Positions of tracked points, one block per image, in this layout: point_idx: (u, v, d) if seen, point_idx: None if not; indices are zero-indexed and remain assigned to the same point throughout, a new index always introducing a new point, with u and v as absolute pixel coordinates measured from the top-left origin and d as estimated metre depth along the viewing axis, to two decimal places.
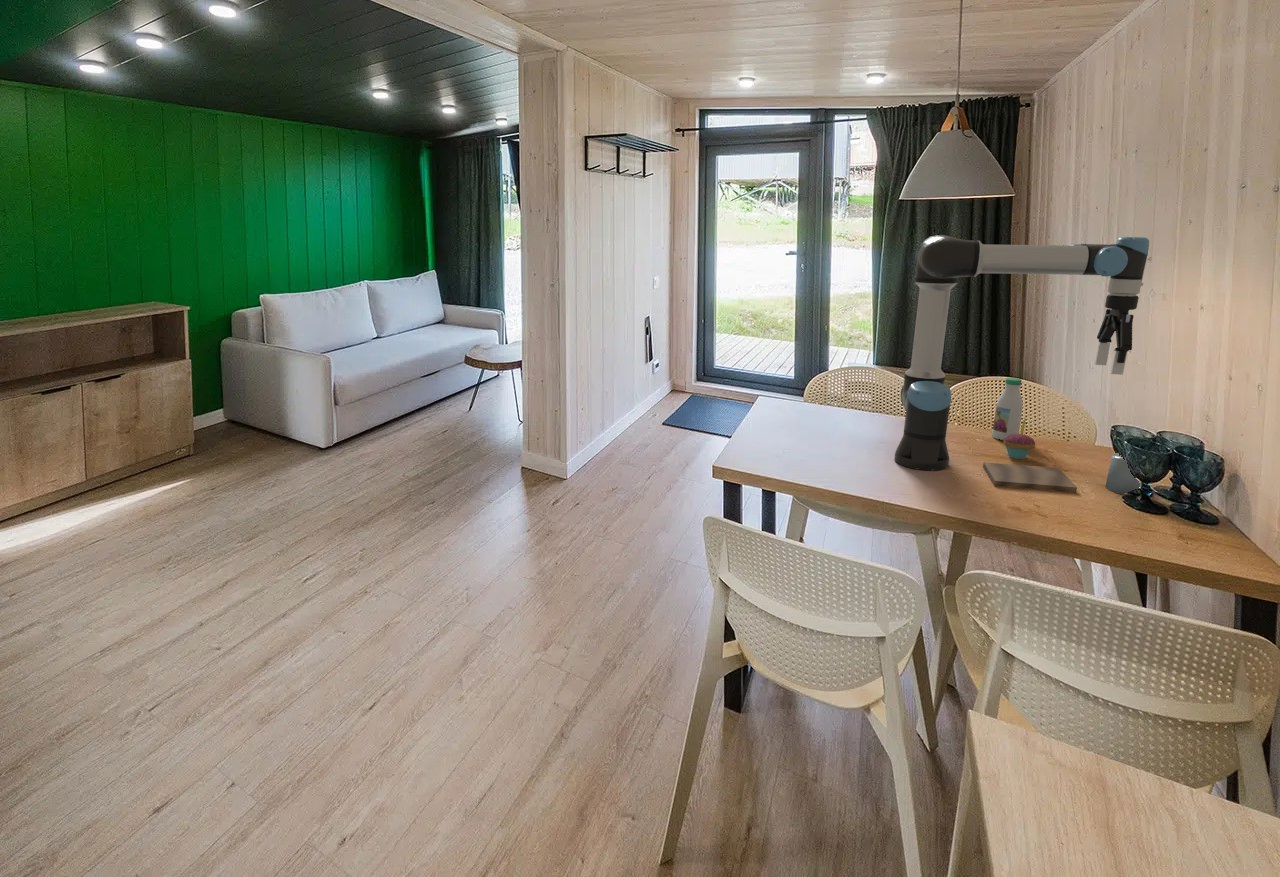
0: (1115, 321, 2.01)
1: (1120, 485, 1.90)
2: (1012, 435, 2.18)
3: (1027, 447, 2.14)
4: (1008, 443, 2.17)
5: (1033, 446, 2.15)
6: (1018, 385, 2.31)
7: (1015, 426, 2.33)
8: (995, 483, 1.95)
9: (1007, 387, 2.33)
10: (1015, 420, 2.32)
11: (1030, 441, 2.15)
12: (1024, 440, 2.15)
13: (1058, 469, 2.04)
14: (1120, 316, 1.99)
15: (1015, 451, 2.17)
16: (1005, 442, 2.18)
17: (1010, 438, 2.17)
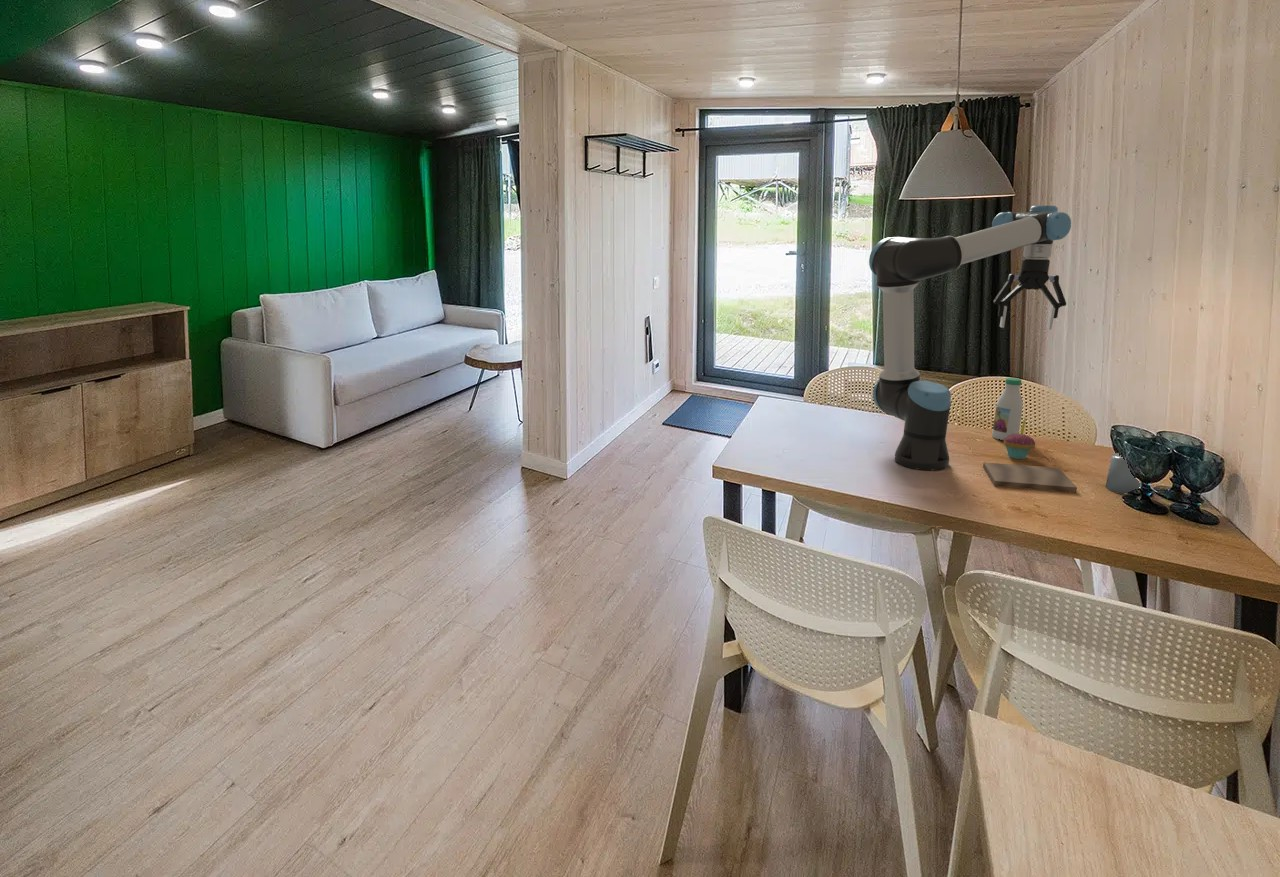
0: None
1: (1120, 485, 1.90)
2: (1012, 435, 2.18)
3: (1027, 447, 2.14)
4: (1008, 443, 2.17)
5: (1033, 446, 2.15)
6: (1018, 385, 2.31)
7: (1015, 426, 2.33)
8: (995, 483, 1.95)
9: (1007, 387, 2.33)
10: (1015, 420, 2.32)
11: (1030, 441, 2.15)
12: (1024, 440, 2.15)
13: (1058, 469, 2.04)
14: None
15: (1015, 451, 2.17)
16: (1005, 442, 2.18)
17: (1010, 438, 2.17)
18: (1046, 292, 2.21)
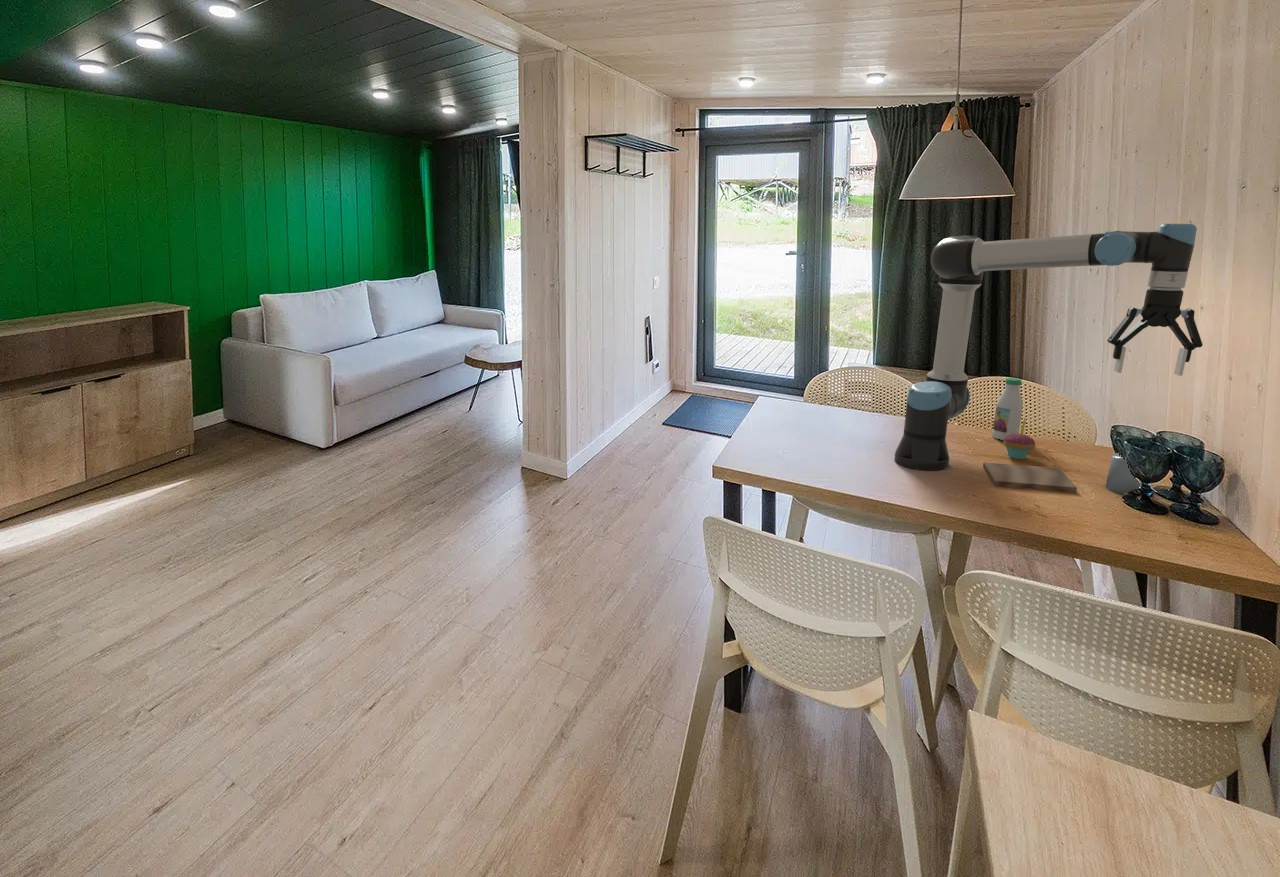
0: None
1: (1120, 485, 1.90)
2: (1012, 435, 2.18)
3: (1027, 447, 2.14)
4: (1008, 443, 2.17)
5: (1033, 446, 2.15)
6: (1018, 385, 2.31)
7: (1015, 426, 2.33)
8: (995, 483, 1.95)
9: (1007, 387, 2.33)
10: (1015, 420, 2.32)
11: (1030, 441, 2.15)
12: (1024, 440, 2.15)
13: (1058, 469, 2.04)
14: None
15: (1015, 451, 2.17)
16: (1005, 442, 2.18)
17: (1010, 438, 2.17)
18: (1177, 330, 1.79)
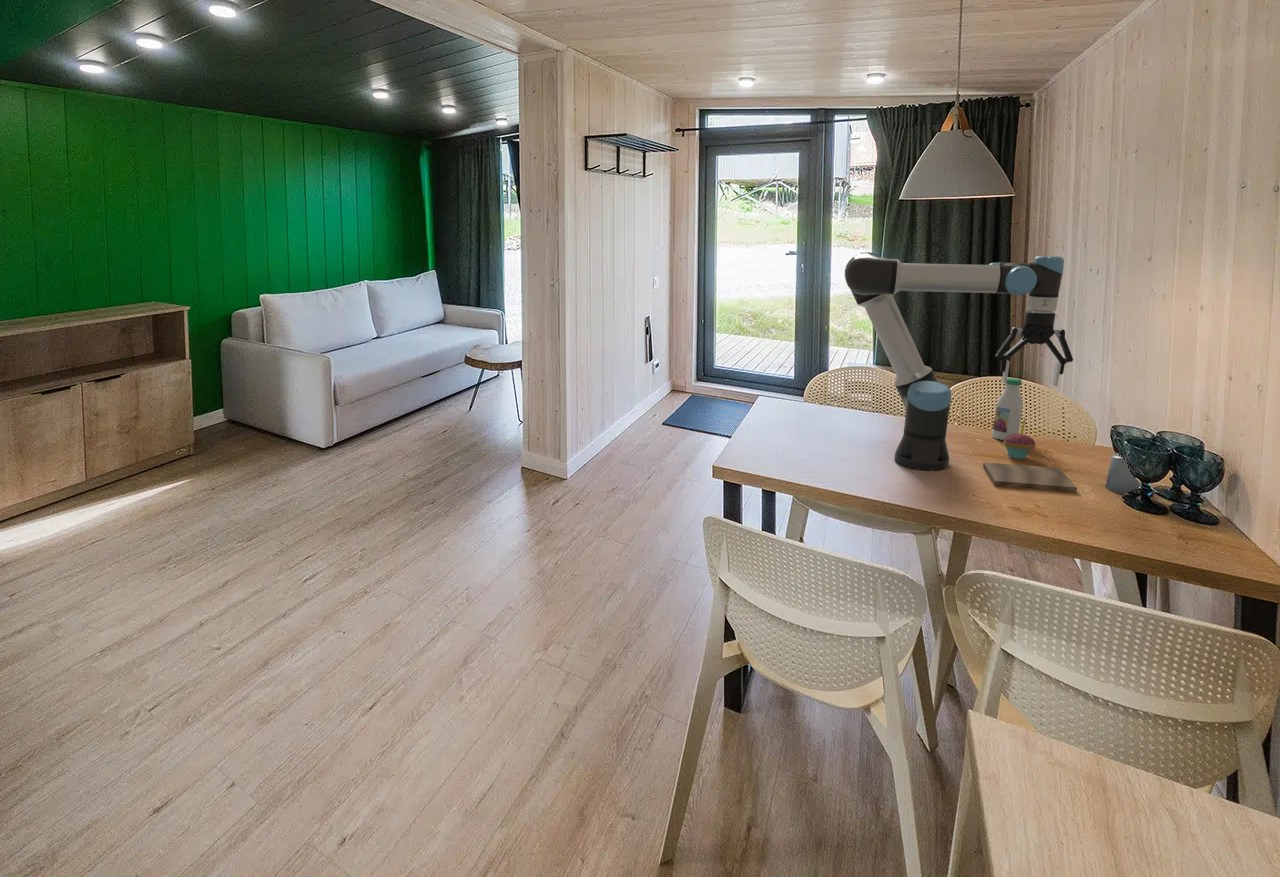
0: None
1: (1120, 485, 1.90)
2: (1012, 435, 2.18)
3: (1027, 447, 2.14)
4: (1008, 443, 2.17)
5: (1033, 446, 2.15)
6: (1018, 385, 2.31)
7: (1015, 426, 2.33)
8: (995, 483, 1.95)
9: (1007, 387, 2.33)
10: (1015, 420, 2.32)
11: (1030, 441, 2.15)
12: (1024, 440, 2.15)
13: (1058, 469, 2.04)
14: None
15: (1015, 451, 2.17)
16: (1005, 442, 2.18)
17: (1010, 438, 2.17)
18: (1051, 347, 2.07)
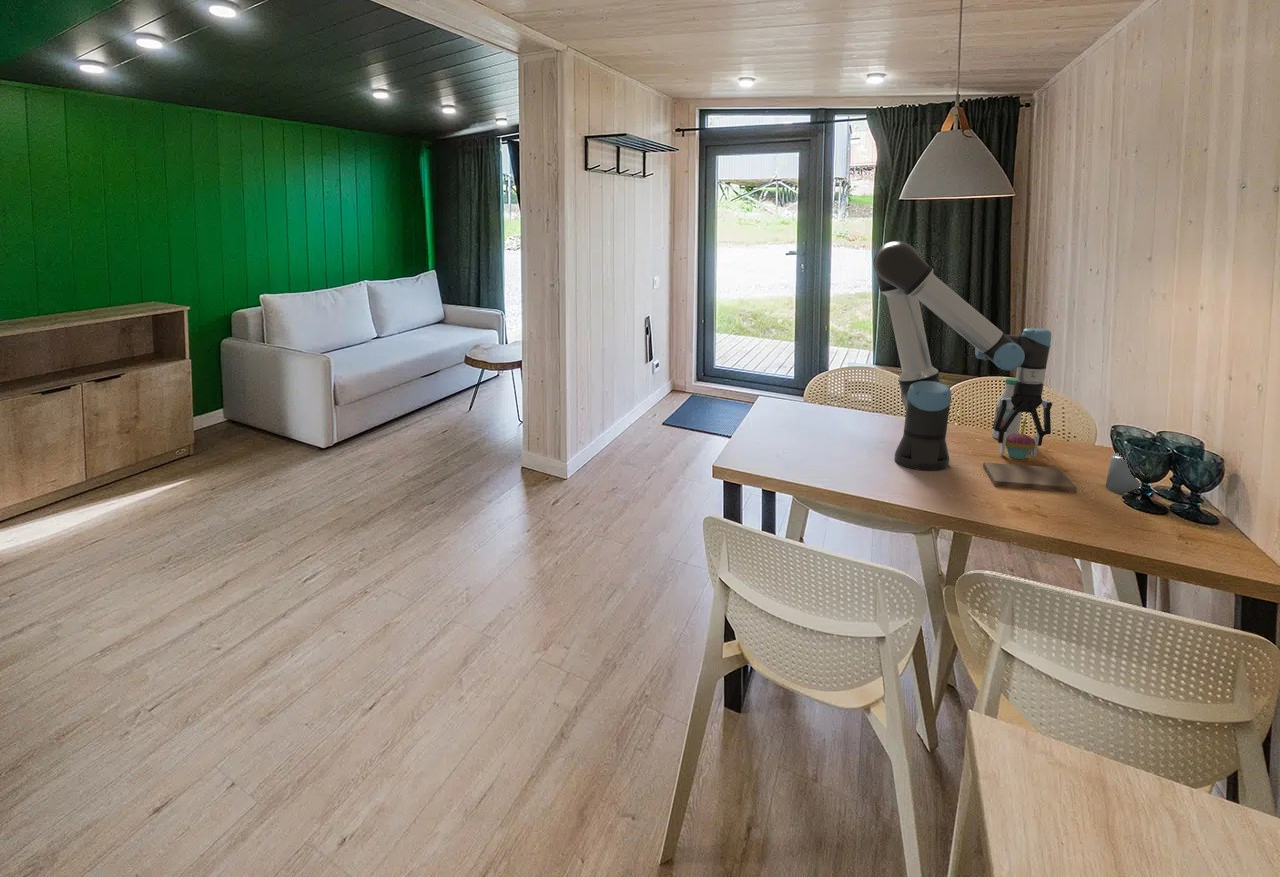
0: None
1: (1120, 485, 1.90)
2: (1012, 435, 2.18)
3: (1027, 447, 2.14)
4: (1008, 443, 2.17)
5: (1033, 446, 2.15)
6: None
7: (1015, 426, 2.33)
8: (995, 483, 1.95)
9: (1007, 387, 2.33)
10: (1015, 420, 2.32)
11: (1030, 441, 2.15)
12: (1024, 440, 2.15)
13: (1058, 469, 2.04)
14: None
15: (1016, 451, 2.17)
16: None
17: (1010, 438, 2.17)
18: (1035, 417, 2.14)
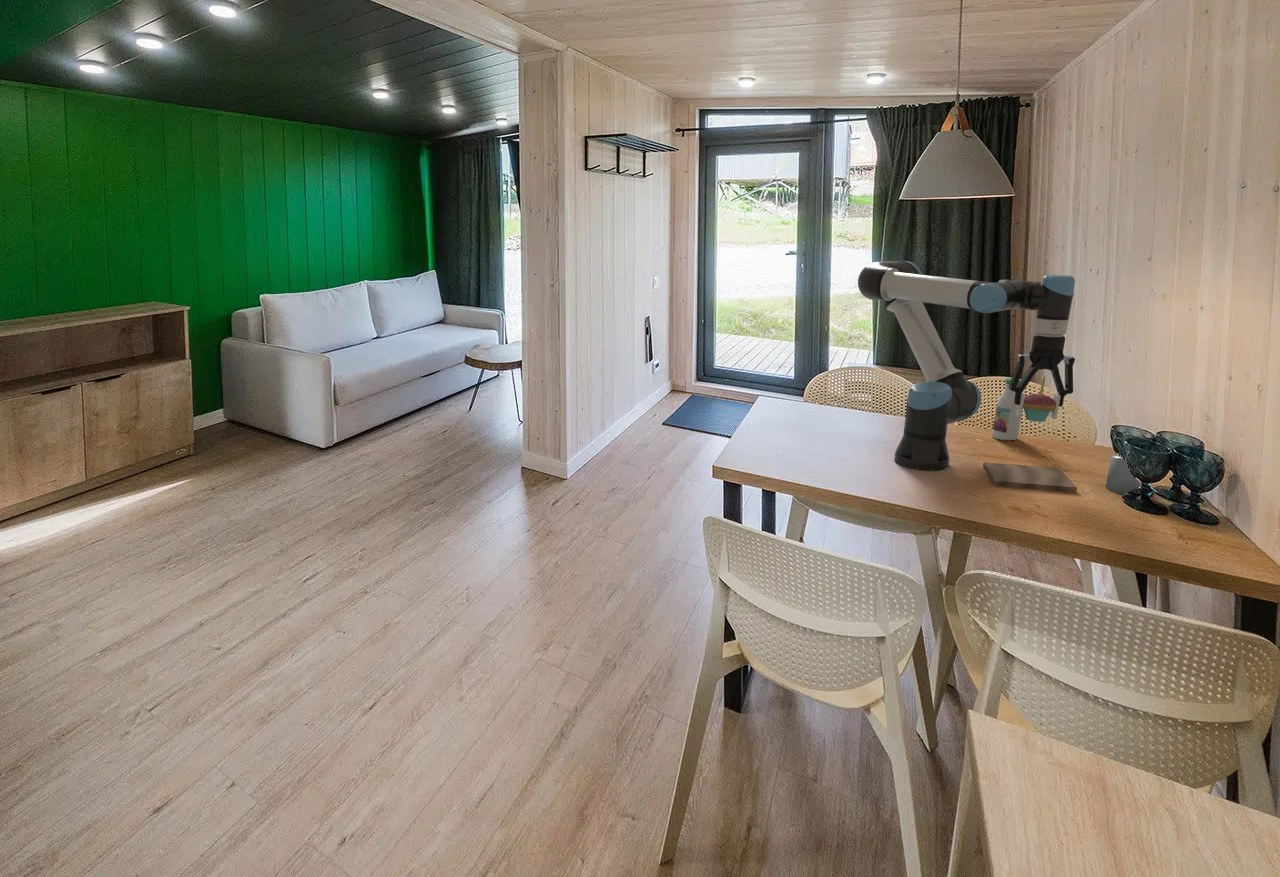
0: None
1: (1120, 485, 1.90)
2: (1030, 396, 1.97)
3: (1048, 408, 1.93)
4: (1027, 404, 1.96)
5: (1054, 407, 1.94)
6: None
7: (1015, 426, 2.33)
8: (995, 483, 1.95)
9: (1007, 387, 2.33)
10: (1015, 420, 2.32)
11: (1051, 401, 1.94)
12: (1044, 401, 1.94)
13: (1058, 469, 2.04)
14: None
15: (1035, 413, 1.95)
16: None
17: (1029, 399, 1.96)
18: (1056, 375, 1.93)
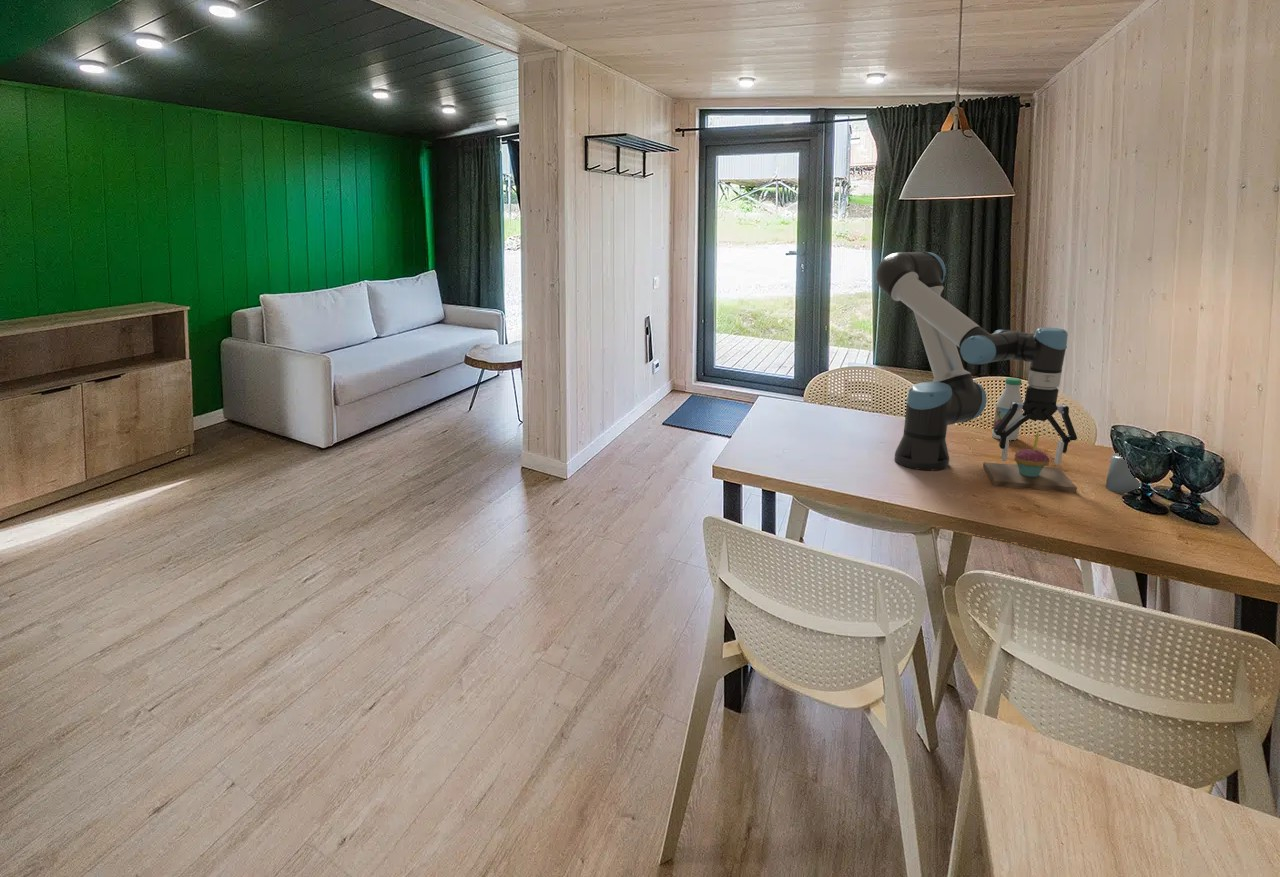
0: None
1: (1120, 485, 1.90)
2: (1023, 451, 1.99)
3: (1040, 464, 1.95)
4: (1019, 459, 1.97)
5: (1047, 463, 1.96)
6: (1018, 385, 2.31)
7: None
8: (995, 483, 1.95)
9: (1007, 387, 2.33)
10: None
11: (1044, 457, 1.95)
12: (1037, 457, 1.95)
13: (1058, 469, 2.04)
14: None
15: (1028, 469, 1.97)
16: (1016, 458, 1.99)
17: (1022, 454, 1.98)
18: (1054, 424, 1.94)
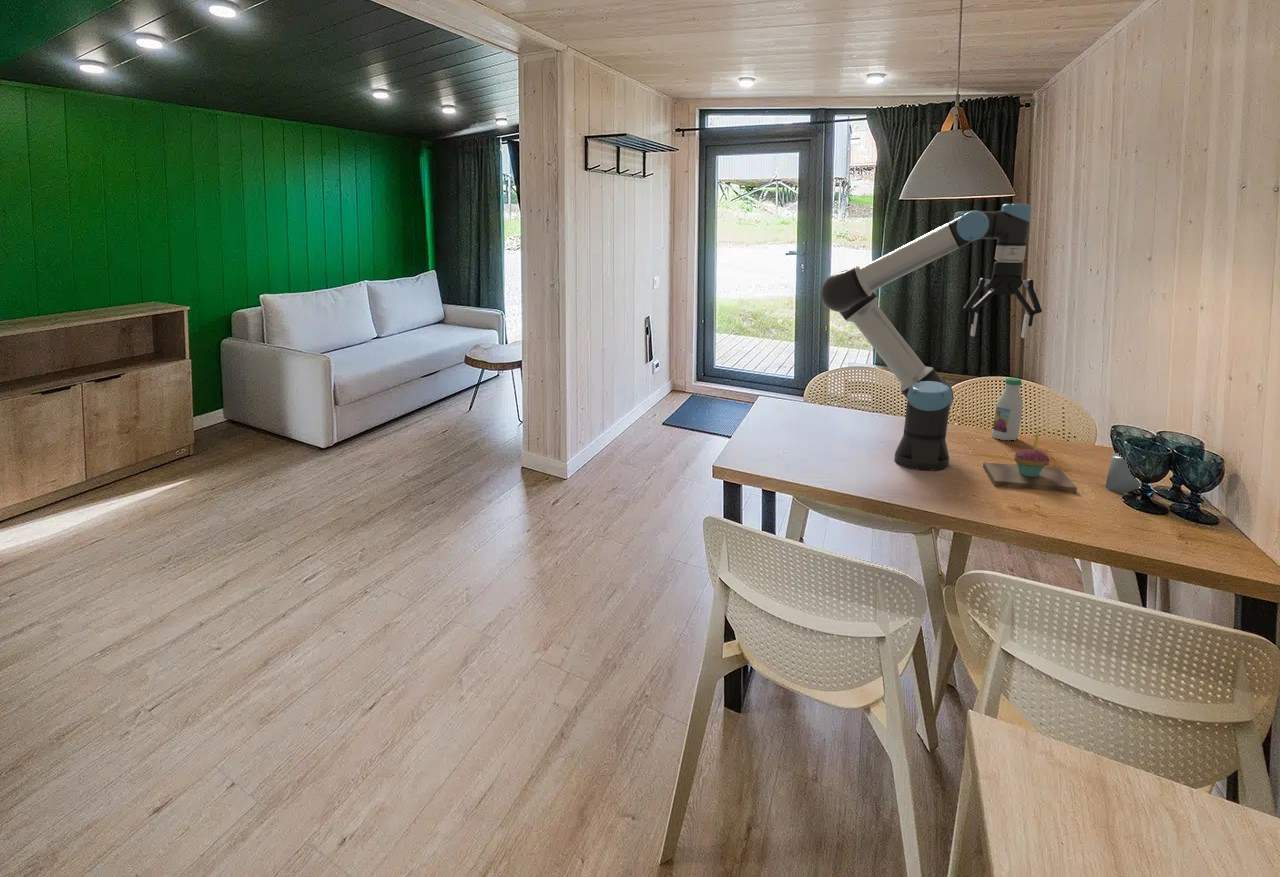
0: None
1: (1120, 485, 1.90)
2: (1023, 451, 1.99)
3: (1041, 464, 1.95)
4: (1019, 459, 1.97)
5: (1047, 463, 1.96)
6: (1018, 385, 2.31)
7: (1015, 426, 2.33)
8: (995, 483, 1.95)
9: (1007, 387, 2.33)
10: (1015, 420, 2.32)
11: (1044, 457, 1.95)
12: (1037, 457, 1.95)
13: (1058, 469, 2.04)
14: None
15: (1028, 468, 1.97)
16: (1016, 458, 1.99)
17: (1022, 454, 1.98)
18: (1020, 298, 2.03)
